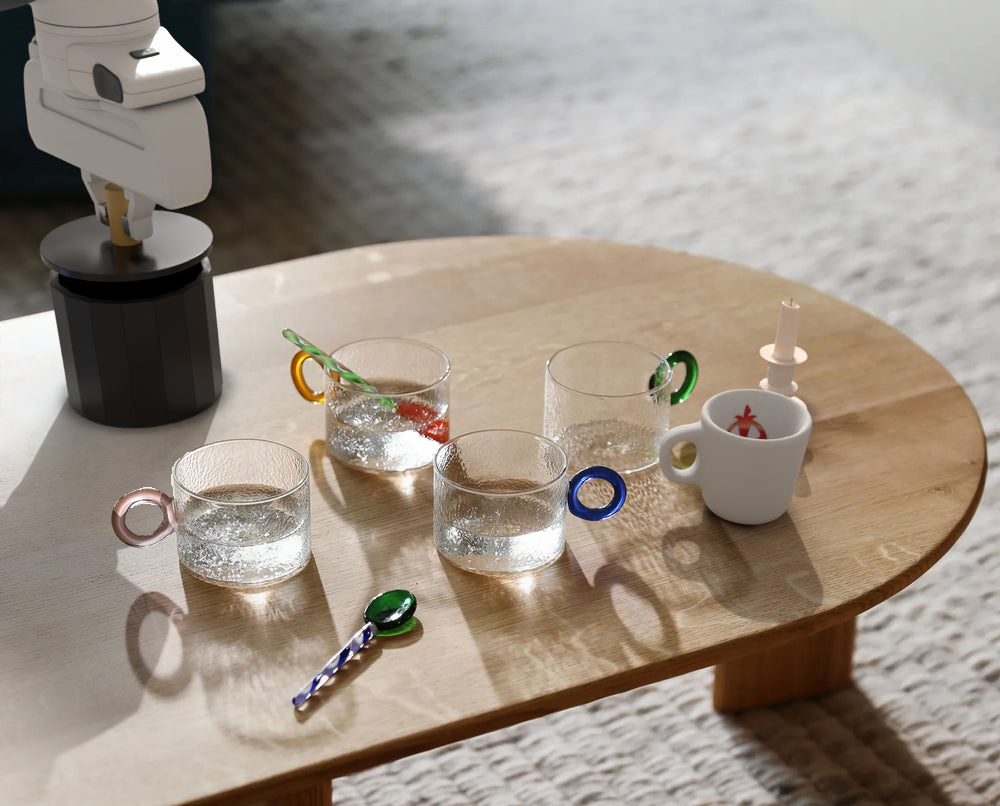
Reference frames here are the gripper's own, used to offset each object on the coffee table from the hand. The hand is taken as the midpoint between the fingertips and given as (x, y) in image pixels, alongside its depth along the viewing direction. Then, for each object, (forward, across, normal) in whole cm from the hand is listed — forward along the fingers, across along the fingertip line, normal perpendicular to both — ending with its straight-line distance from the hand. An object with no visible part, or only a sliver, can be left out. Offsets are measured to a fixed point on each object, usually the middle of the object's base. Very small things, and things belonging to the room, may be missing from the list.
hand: (125, 230), depth 110 cm
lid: (+2, 0, 0) cm, 2 cm away
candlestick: (+15, +39, +36) cm, 55 cm away
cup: (+15, +45, +21) cm, 52 cm away
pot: (+14, 0, 0) cm, 14 cm away
